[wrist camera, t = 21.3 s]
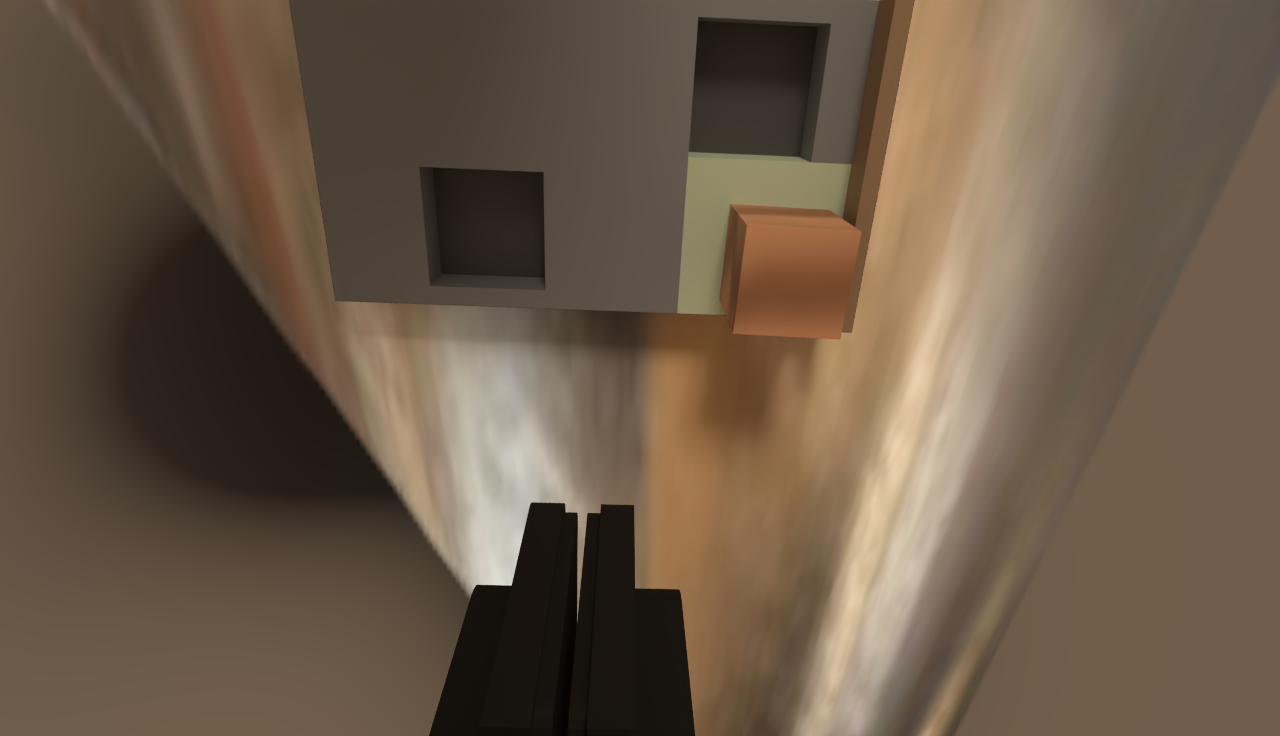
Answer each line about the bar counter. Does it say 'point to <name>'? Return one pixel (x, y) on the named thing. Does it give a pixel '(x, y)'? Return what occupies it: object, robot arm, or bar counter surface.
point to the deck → (585, 140)
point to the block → (787, 271)
